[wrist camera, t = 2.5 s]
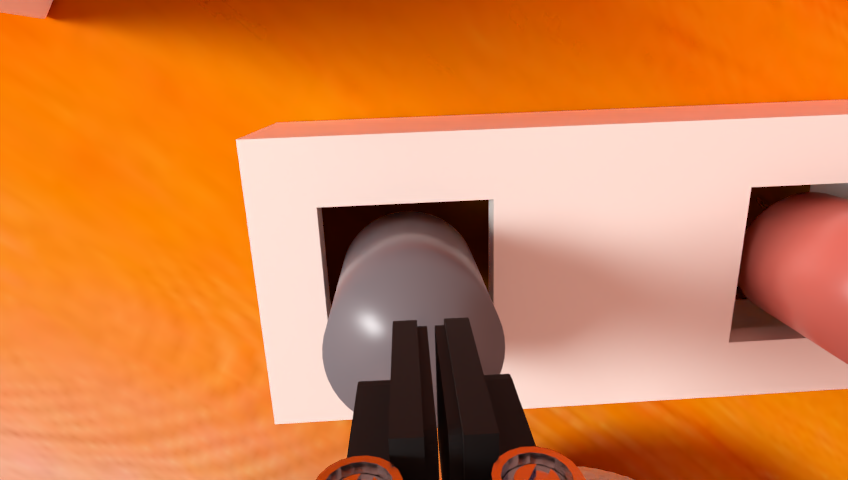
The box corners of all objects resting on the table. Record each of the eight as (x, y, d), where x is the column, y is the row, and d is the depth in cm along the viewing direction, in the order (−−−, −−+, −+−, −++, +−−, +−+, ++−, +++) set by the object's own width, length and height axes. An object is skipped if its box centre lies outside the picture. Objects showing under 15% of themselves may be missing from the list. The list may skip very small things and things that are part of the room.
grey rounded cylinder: (474, 331, 20) (504, 425, 14) (347, 338, 19) (330, 436, 14) (473, 208, 18) (506, 262, 13) (337, 214, 18) (313, 272, 13)
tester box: (807, 315, 26) (925, 383, 20) (302, 343, 25) (274, 424, 19) (848, 99, 23) (1000, 108, 17) (277, 122, 22) (235, 139, 16)
